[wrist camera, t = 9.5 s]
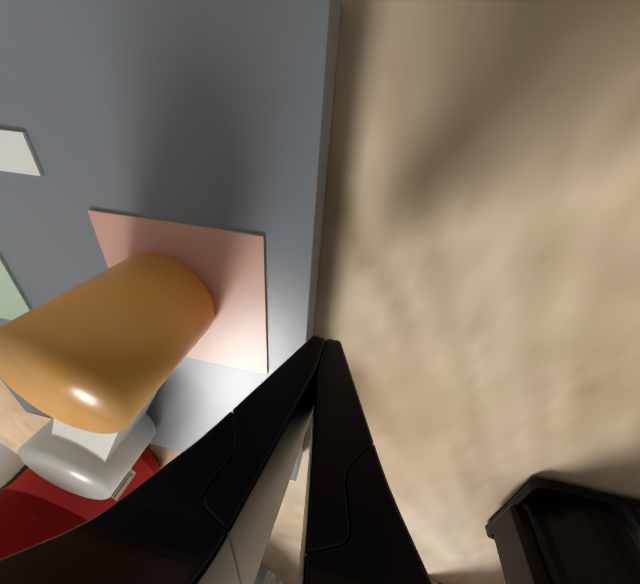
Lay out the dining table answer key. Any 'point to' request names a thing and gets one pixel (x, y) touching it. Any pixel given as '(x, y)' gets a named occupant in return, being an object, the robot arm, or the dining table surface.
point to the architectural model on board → (266, 576)
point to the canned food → (55, 505)
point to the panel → (172, 171)
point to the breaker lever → (102, 367)
